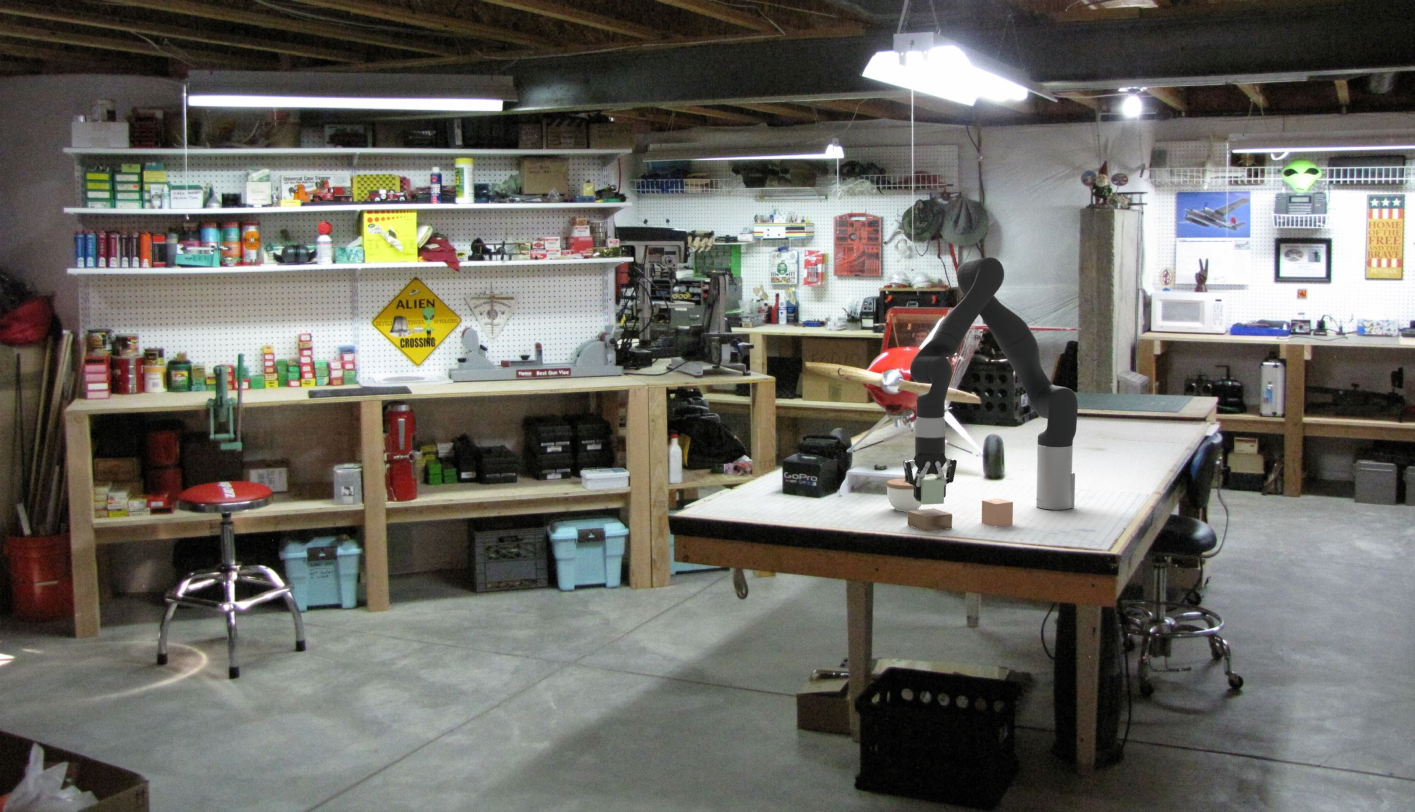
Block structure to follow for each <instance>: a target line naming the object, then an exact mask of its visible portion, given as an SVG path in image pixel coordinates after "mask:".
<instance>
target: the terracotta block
mask: <svg viewBox="0 0 1415 812" xmlns="http://www.w3.org/2000/svg"><path fill="white" fill-rule="evenodd" d="M1013 514H1014V502H1013V501H1010V500H1006V499H1002V498H991V499H983V500H981V524H983V523H984V525H987V524H988V525H987V526H990V525H991V527H994V526H1000V527H1005V526H1004V525H1007V526H1013V525H1012V524H1014V522H1013V521H1014V520H1013V518H1014V515H1013Z"/></svg>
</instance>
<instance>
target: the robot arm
mask: <svg viewBox="0 0 1415 812" xmlns="http://www.w3.org/2000/svg"><path fill="white" fill-rule="evenodd" d="M956 280H957V283H958V286H959V288H960V290H961V292H962V293H963V294H964V297H963V298H962V299H961V301H960V302H958V303H957V304H956V305H955V306H954V307H953V308H952V309H951V310H950V311H949V312H948V313H947V314H946V316H945V317H944V318H943V319H942V320H941V322H940V324H939V326H938V327H937V329H936V331H935V333H934V334H933V336H932V338H931V339H930V341H928V342H926V344H925V345H924V346H923V347H922V348H921V349H920V350H919V351H918V352H917V353H916V354H915V356H914V357H913V359H912V361H911V364H910V367H909V373H910V376H911V378H912V379H913V381H914V382H917V383H919V384H920V383H921V384H930V385H931V386H930V389H929V390H928V391H927V392H922V393H920V394H918V395H917V396H916V412H915V413H916V420H915V427H914V428H915V429H914V430H915V431H914V433H915V434H914V435H915V436H914V437H915V439H914V441H915V442H914V443H915V444H914V453H915V454H914V457H913V459H910V460H903V461H902V465H903V466H902V467H903V471H904V478H905V477H906V482H907V483H909V484H911V485H913V486H914V498H915V499H916V500H917V501H921V487H920V485H921V480H923V479H924V478H925V477H926V475H930V474H932V475H934V477H937V478H940V479H942V480H944V499H945V498H946V496H947V485H948V484H950V483H953V482H954V479H955V473H956V469H957V464H958V461H957V459H954V458H947V457H946V434H947V431H946V420H945V419H946V418H945V413H946V412H945V409H946V408H945V407H946V406H945V405H946V404H945V403H946V402H945V401H946V398H947V394H948V390H949V386H950V384H951V382H952V381H951V379H952V375H953V367H952V363H951V362H950V360H949V359H948V358H950V357H953V356H954V355H955V354H956V353H957V351H958V350H959V347H960V346H961V344H962V343H963V341H964V339H965V338H966V335H967V333H968V332H969V330H970V329H971V327H972V325H973V323H974V322H975V321H976V319H977V318H978V316H980V317H981V318H982V321H983V322H984V324H985V326H987V328H988V330H989V331H990V333H991V334H992V336H993V337H994V340H995V342H996V343H997V345H998V347H999V349H1000V350H1001V352H1002V353H1003V356H1004V357H1005V358H1006V360H1007V361H1008V363H1009V364H1010V366H1011V368H1012V371H1014V373H1015V375H1016V377H1017V378H1018V379H1019V381H1020V383H1021V385H1022V387H1023V389H1024V391H1025V394H1026V396H1027V398H1028V399H1029V402H1030V404H1031V406H1032V408H1033V410H1034V412H1035V413H1036V414H1037V415H1038V416H1040V417H1042V418H1043V419H1047V425H1046V429H1045V430H1044V431H1043V432H1040V433H1039V434H1038V435H1037V455H1036V456H1037V458H1036V460H1037V461H1036V463H1037V464H1036V499H1035V500H1036V503H1035V504H1036V505H1035V507H1037V508H1039V509H1043V510H1044V509H1045V510H1055V511H1056V510H1057V511H1059V510H1060V511H1061V510H1068V509H1072V508H1073V509H1074V508H1075V502H1076V501H1075V500H1076V497H1075V494H1076V492H1075V491H1076V474H1075V472H1073V448H1074V447H1073V445H1074V442H1073V441H1074V438H1075V435H1076V434H1077V424H1078V423H1077V422H1078V409H1079V408H1078V406H1079V405H1078V399H1077V394H1076V393H1075V391H1073V389H1071V388H1070V387H1069V388H1068V387H1065V386H1059V385H1055V384H1053V383H1052V382H1051V380H1050V379H1049V378H1048V376H1047V374H1046V373H1045V370H1044V369H1043V367H1042V364H1041V356H1040V355H1041V354H1040V352H1041V351H1040V346H1039V342H1038V341H1037V338H1036V337H1035V335H1034V333H1033V332H1032V329H1030V326H1029V325H1028V323H1027V322H1026V321H1025V320H1024V319H1023V318H1022V317H1021V316H1019V315H1018V314H1017V313H1015V312H1014V311H1012V310H1011V309H1009V308H1008V307H1007V306H1005V305H1004V304H1003V303H1002V302H1001V301H999V299H998V298H997V297H996V296H995V295H996V293H997V292H998V291H999V289H1001V287H1002V285H1003V282H1004V280H1005V270H1004V267H1003V264H1002V263H1001V261H1000V260H999V259H997V258H995V257H990V256H989V257H983V258H977V259H972V260H968V261H966V262H963V263H962V264H960V265H959V266H958V268H957V271H956ZM944 465H946V467H947V468H946V473H944V470H943V467H944ZM914 466H915V467H916V468H917V469H916V471H915V474H913V469H914Z"/></svg>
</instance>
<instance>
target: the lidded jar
mask: <svg viewBox="0 0 1415 812" xmlns="http://www.w3.org/2000/svg"><path fill="white" fill-rule="evenodd" d="M886 492H887V493H886V494H887V500H888V502H889V503H890V505H891V506H892V508H894V510H895V509H896V510H898V511H897V512H900V511H904V513H908V511H914V510H919V509H920V508H921V507H922V505H923V504H921V503H919V502H917V501H915V498H914V486H913V485H911V484H909V483H907V482H906V477H905V476H904V478H893V479H889V480H886ZM896 510H895V511H896Z"/></svg>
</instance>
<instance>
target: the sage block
mask: <svg viewBox="0 0 1415 812" xmlns="http://www.w3.org/2000/svg"><path fill="white" fill-rule="evenodd" d="M920 487H921V501H917V500H916V499H915V501H917V502H919V503H921V504H922V505H924V506H925V505H927V506H928V505H940V504H941V505H943V504H945V498H944V480H942V479H940V478H937V477H936V476H925V478H924V479H923V480H921V485H920Z"/></svg>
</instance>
